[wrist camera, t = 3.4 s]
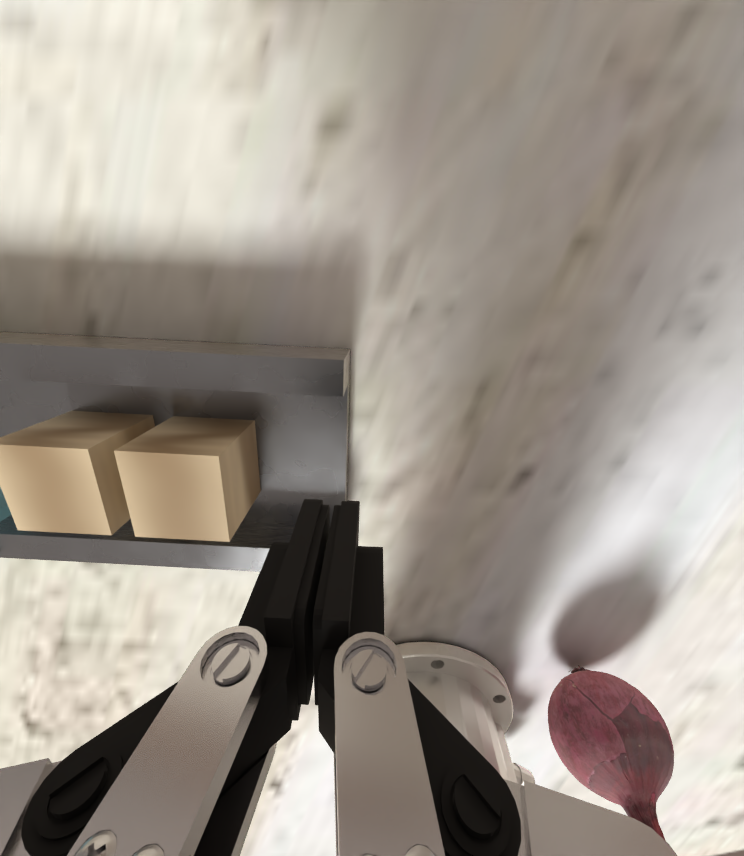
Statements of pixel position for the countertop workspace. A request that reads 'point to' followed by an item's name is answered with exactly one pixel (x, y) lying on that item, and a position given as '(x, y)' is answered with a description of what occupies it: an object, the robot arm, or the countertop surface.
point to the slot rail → (188, 397)
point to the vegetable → (612, 741)
